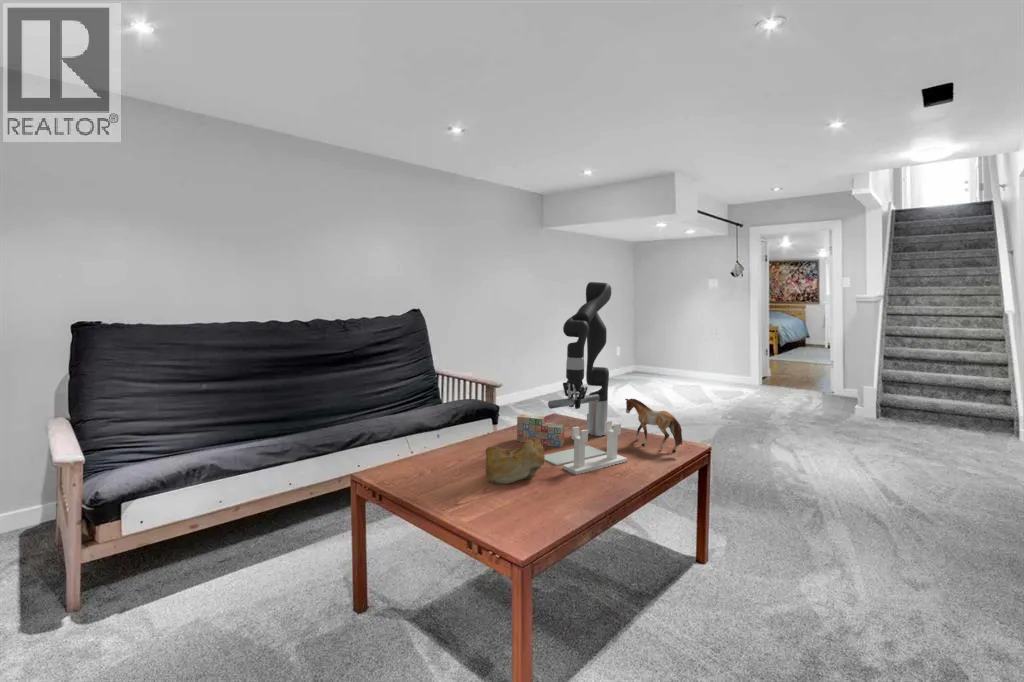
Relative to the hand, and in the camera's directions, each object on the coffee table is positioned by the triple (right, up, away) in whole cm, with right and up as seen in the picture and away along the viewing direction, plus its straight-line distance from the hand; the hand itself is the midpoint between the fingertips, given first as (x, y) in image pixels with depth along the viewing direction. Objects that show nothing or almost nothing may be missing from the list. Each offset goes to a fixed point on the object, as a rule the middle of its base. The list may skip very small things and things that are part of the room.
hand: (574, 407), depth 219 cm
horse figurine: (+37, -20, +14) cm, 44 cm away
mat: (0, -21, +2) cm, 21 cm away
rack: (+8, -22, -9) cm, 25 cm away
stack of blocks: (-13, -19, +20) cm, 31 cm away
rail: (0, +1, 0) cm, 1 cm away
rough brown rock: (-27, -24, -23) cm, 42 cm away
